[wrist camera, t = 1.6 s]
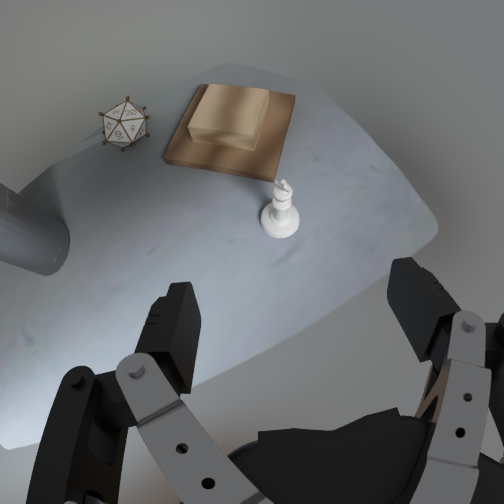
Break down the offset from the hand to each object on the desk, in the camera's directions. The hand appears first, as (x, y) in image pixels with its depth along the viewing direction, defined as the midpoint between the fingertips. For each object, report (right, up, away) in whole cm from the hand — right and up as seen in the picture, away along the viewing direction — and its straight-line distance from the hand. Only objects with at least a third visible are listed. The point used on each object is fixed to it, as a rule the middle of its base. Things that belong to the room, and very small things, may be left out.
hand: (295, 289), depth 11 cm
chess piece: (+2, +5, +25) cm, 26 cm away
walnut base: (-4, +20, +29) cm, 36 cm away
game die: (-21, +20, +31) cm, 42 cm away
